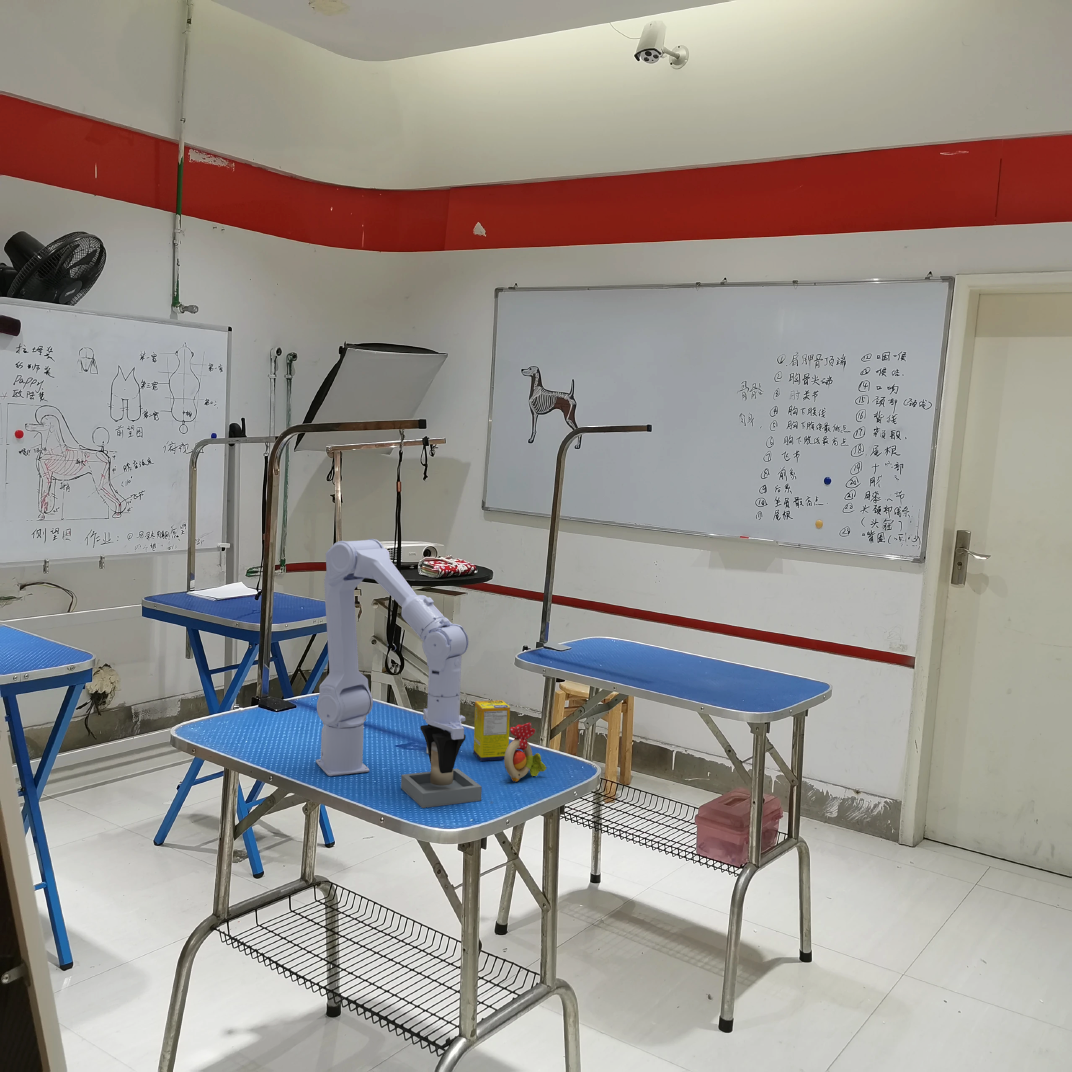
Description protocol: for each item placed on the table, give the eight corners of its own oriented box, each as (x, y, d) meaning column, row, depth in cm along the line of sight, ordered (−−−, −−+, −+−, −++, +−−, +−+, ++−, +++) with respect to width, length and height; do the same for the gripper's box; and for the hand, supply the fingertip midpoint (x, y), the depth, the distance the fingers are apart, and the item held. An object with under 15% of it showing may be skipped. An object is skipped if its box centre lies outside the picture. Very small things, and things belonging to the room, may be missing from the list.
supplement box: (500, 751, 207) (502, 699, 206) (508, 760, 202) (510, 706, 201) (472, 753, 205) (474, 700, 205) (480, 761, 200) (482, 707, 199)
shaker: (426, 779, 180) (428, 741, 179) (447, 777, 182) (448, 739, 181) (435, 786, 176) (436, 747, 176) (456, 783, 178) (457, 745, 178)
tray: (401, 788, 182) (401, 774, 181) (457, 781, 187) (457, 768, 186) (422, 808, 172) (422, 793, 172) (481, 800, 177) (481, 786, 177)
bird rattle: (529, 795, 187) (553, 766, 194) (517, 747, 182) (542, 719, 189) (501, 789, 190) (526, 760, 197) (489, 741, 186) (515, 713, 192)
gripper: (481, 701, 173) (478, 778, 174) (449, 683, 186) (447, 755, 187) (443, 704, 170) (440, 782, 171) (413, 685, 183) (411, 758, 184)
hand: (441, 768), depth 179 cm, fingers closed on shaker, 4 cm apart
